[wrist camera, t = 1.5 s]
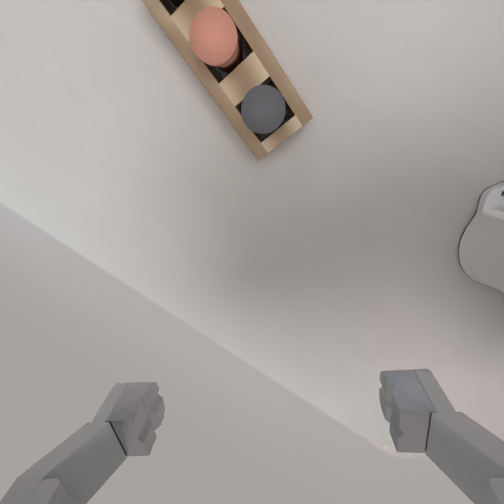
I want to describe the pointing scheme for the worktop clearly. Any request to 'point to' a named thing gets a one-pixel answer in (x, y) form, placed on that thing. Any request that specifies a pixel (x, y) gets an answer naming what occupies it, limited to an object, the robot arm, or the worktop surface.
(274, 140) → the oak socket block
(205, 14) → the plug mid
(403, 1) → the worktop surface
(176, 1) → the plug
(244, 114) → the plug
